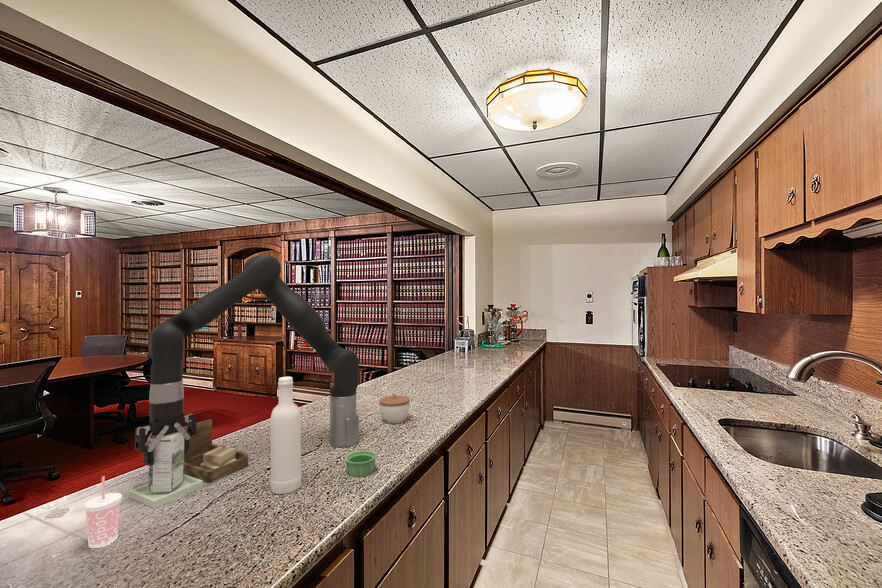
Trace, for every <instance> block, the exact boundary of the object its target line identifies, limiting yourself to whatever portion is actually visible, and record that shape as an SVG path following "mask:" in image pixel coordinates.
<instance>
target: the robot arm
mask: <svg viewBox="0 0 882 588" xmlns="http://www.w3.org/2000/svg"><path fill="white" fill-rule="evenodd" d="M281 272H282V266H281V263H280V261H279V260H278V258H276V257H275V256H273V255H270V254H265V253H263V254H258V255H255V256H252V257H251V258H249V259H247V260H246V261H245V263H244V265H243V270H242V271H241V272H240V273H239V274H237V275H236V276H235V277H233V278H231V279H230V280H228V281H227V282H225V283H224V284H222V285H220V286H219V287H217V288H215V289H213V290H211V291H210V292H207V293H206V294H204V295H203V296H202V297H200V298H198V299H196V300H195V301H194V302H193V303H191V304H190V305H188V306H186V307H185V308H184V309H183V310H182V311H180V312H179V313H177V314H175V315H174V316H172V317H170V318H167V319H166V320H165V321H163V322H161V323H159V324H158V325H157V326H155V327H154V328H153V329H152V330H151V332H150V333H149V342H150V344H151V357H152V363H151V365H150V388H149V398H148V400H149V423H148V425H146V426H137V427H135V429H134V450H135V451H137V452H140V453H143V463H144V464H145V465H146V466H148V467H149V466H152V465H154V451H152V450H153V449H154V447H155V446H156V444H157V443H159V441H160V440H161V438H162V437H163V436H165V435H168V434H172V433H176V432H180V433H182V435H184V436H183V437H184V454H186V453H187V451H188V450H189V439H190V437H192V436H193V435H196V434H197V428H196V423H197V415H196V414H195V413H187V414H184V413H185V397H184V396H185V394H184V393H185V390H184V389H185V387H184V382H183V355H184V345H185V343H184V341H185V340H184V339H186V338H187V337H189V336H190V335H191V334H193V333H194V332H196V331H199V330H200V329H203V328H205V327H206V326H207V325H208V324H210V323H212V322H213V321H214V320H216V319H217V318H219V316H221V315H222V314H223V313H225V312H226V311H228V310H229V309H230V308H231V307H233V306H234V305H235V304H237V303H238V302H239V301H240V300H242V299H243V298H245V297H246V296H248V295H250V294H252V293H253V292H255V291H257V290H259V291H260V292H261V293H262V295H264V296H265V298H267V299H268V300H269V301H270V302H271V303H272V304H273V306H274V307H275V308H276V310H277V311H278V313H280V315H282V317H283V318H284V319H285V321H286V322H287V323H288V324H289V326H291V327H292V329H293V330H294V331H295V332H296V333H297V334H298V336H300V337H301V338H302V340H304V342H306V343H307V344H308V345H309V346H310V347H311V348H312V349H313V350H314V351H315V352H316V354H317V355H318V357H319V358H320V360H321V361H322V362H323V364H324V365H325V366H326V368H327V369H328V370H329V371H330V372H331V373H333V375H334V378H333V379H334V380H333V385H331V386H330V387H329V444H330V446H332V447H334V448H335V447H336V448H337V447H338V448H342V447H343V448H344V447H345V448H349V447H350V446H352V445H354V444H356V443H358V442H359V441H360V426H359V424H360V416H359V414H357V388H358V386H359V377H360V362H359V358H358V355H357V353H355V352H354V351H352V350H348V349H344V348H343V347H341V345H339V344H338V343H337V342H336V341H335V340H334V339H333V337H332V336H331V335H330V334H329V331H328V329H327V327H326V324H325V323H324V320H323V319H322V317H321V315H320V314H319V313H318V312H317V310H315V308H314V307H313V306H312V305H311V303H309V302H308V301H307V300H306V299H305V298H304V297H302V296H301V295H300V294H298V293H297V292H296V291H294V290H292V288H290V287H289V286H288V285H287V284H286V283H285V282H284V280H283V279H282V278H281V276H280V275H281ZM184 423H186V426H187V432H186V431H185V430H184V429H183V428H182V427H183V425H184ZM148 432H151V433H150V435H149V436H148V437H147V441H146V436H147V435H148V434H149V433H148ZM154 436H156V438H154V439H153V438H152V437H154ZM150 441H151V444H150Z"/></svg>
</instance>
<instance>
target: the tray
mask: <svg viewBox="0 0 882 588" xmlns="http://www.w3.org/2000/svg"><path fill="white" fill-rule="evenodd" d="M202 488H204V481H202V480H200V479H197V478H194V477H191V476H188V475H185V474H184V481H183V482H182V483H181V484H180V485H178V486H177V487H176V488H175V489H174V490H172V491H168V492H149V482H148V483H146V484H144V485H141V486H138V487H135V488H132V489H130V490H129V492H128V498H130V499H131V500H134V501H136V502H139V503H141V504H142V505H144V506H147V507H149V508H152V509H156V508H158V507H161V506H163V505H165V504H167V503H170V502H172V501H174V500H177V499H179V498H181V497H184V496H186V495H188V494H191V493H192V492H195V491H197V490H199V489H202Z"/></svg>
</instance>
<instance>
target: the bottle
mask: <svg viewBox="0 0 882 588" xmlns="http://www.w3.org/2000/svg"><path fill="white" fill-rule="evenodd" d="M293 379H294V378H293V377H292V376H282V377H279V378H278V382H277V386H278V403H277V405H276V406H275V407H273V408H272V411H271V415H270V479H269V480H270V486H269V487H270V491H271V493H273V494H276V495H286V494H290V493H293V492H295V491H297V490H298V489H300V487H301V486H302V416H301V415H302V414H301V411H300V408H299V406H298V405H297V404H296V403H295V402H294V401H293V400H294V399H293V398H294V397H293V393H294V391H293V390H294V389H293V387H294V380H293Z"/></svg>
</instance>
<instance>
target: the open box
mask: <svg viewBox="0 0 882 588" xmlns="http://www.w3.org/2000/svg"><path fill="white" fill-rule="evenodd" d="M181 427H182V428H183V429H184V430H185V431H186V432H187V425H184V426H181ZM196 428H197V434H196V435H193V436H192V437H190V439H189V450H188V451H187V453H186V454H184V474H185V475H188V476H191V477H194V478H197V479H200V480H202V481H203V483H207V484H211V483H213V482H215V481H217V480H220V479H222V478H225V477H227V476H229V475H231V474H234V473H236V472H239V471H240V470H242V469H245V468H248V467H249V453H247V452H245V451H241V450H236V458H235V459H237V460H235V461H232V462H230V463H228V464H225V465H223V466H220V467H218V468H215V469H213V470H207V469H204V468H201V467H200V464H202V463H203V454H206V453H208V452H210V451H212V450H214V449H216V448H218V447H226V446H225V445H218V444H215V443H213V419H206V420H203V421H199V422H196Z"/></svg>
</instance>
